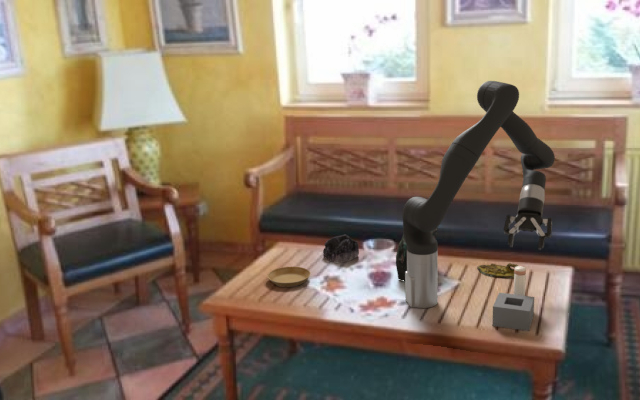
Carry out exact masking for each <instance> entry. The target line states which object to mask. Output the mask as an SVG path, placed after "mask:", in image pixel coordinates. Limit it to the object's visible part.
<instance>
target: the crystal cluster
mask: <svg viewBox="0 0 640 400" xmlns="http://www.w3.org/2000/svg"><path fill="white" fill-rule="evenodd" d="M359 250H360V249H359V242H358V241H357V240H354V239H353V238H351V237H350V236H349V235H347V233H346V234H345V233H344V234H342V235H337V236H334V237H331V238H330V239H328V240H326V241H325V243H324V248H323V249H322V255H323V258H325V259H326V260H327V261H330V262H335V263H344V262H349V261H352V260H354V259H356V258H357V257H358V256H359V255H360V251H359Z"/></svg>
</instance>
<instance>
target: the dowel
mask: <svg viewBox="0 0 640 400" xmlns="http://www.w3.org/2000/svg"><path fill="white" fill-rule="evenodd" d="M513 269H514V278H513V294H515V295H523V296H526V274H527V268H526V267H524V266H521V265H518V266H517V267H515V268H513Z"/></svg>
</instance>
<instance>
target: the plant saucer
mask: <svg viewBox="0 0 640 400" xmlns="http://www.w3.org/2000/svg"><path fill="white" fill-rule="evenodd" d="M310 276H311V271H310V270H309V269H307V268H305V267H301V266H284V267H283V266H282V267H279V268H275V269H273V270H271V271H269V272H268V274H267V279H268V280H269V281H270V282H271V283H272V284H274V285H275V286H277V287H280V288H281V287H283V288H293V287H297V286H300V285H302V284H304V283H305V282H306V281H307V280H308V279H309V278H310Z"/></svg>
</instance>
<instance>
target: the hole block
mask: <svg viewBox="0 0 640 400" xmlns="http://www.w3.org/2000/svg"><path fill="white" fill-rule="evenodd" d="M534 315H535V296H530V295H529V296H528V295H525V296H523V295H515V294H514V293H506V292H498V294H497V297H496V298H495V301H494V303H493V305H492V325H491V326H493V327H496V328H505V329H513V330H520V331H527V332H529V331H530V329H531V327H532V322H533V319H534Z"/></svg>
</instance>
